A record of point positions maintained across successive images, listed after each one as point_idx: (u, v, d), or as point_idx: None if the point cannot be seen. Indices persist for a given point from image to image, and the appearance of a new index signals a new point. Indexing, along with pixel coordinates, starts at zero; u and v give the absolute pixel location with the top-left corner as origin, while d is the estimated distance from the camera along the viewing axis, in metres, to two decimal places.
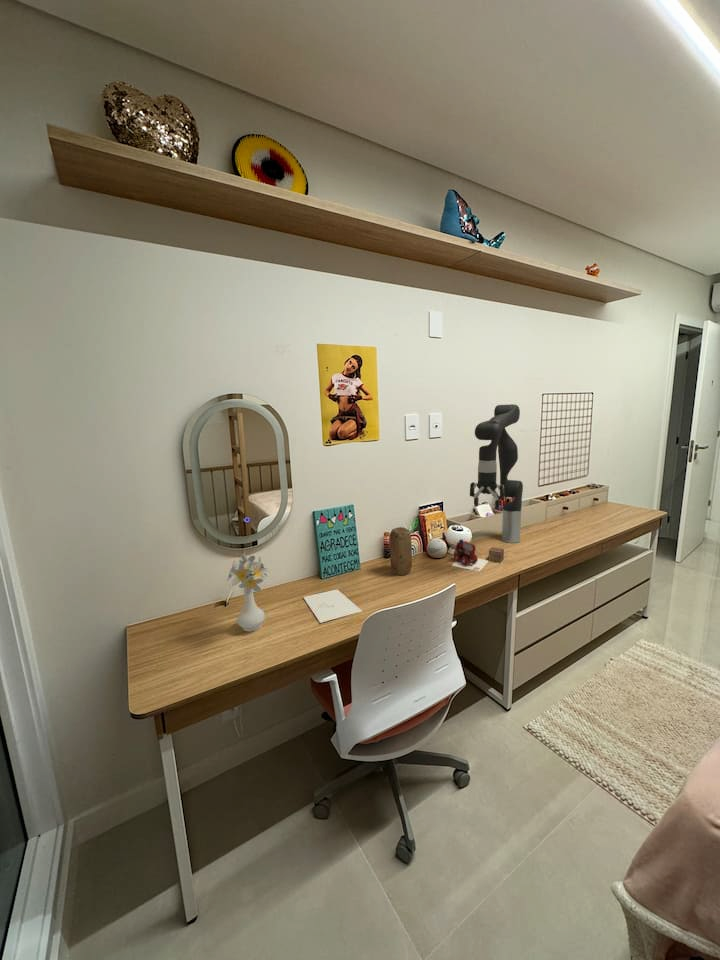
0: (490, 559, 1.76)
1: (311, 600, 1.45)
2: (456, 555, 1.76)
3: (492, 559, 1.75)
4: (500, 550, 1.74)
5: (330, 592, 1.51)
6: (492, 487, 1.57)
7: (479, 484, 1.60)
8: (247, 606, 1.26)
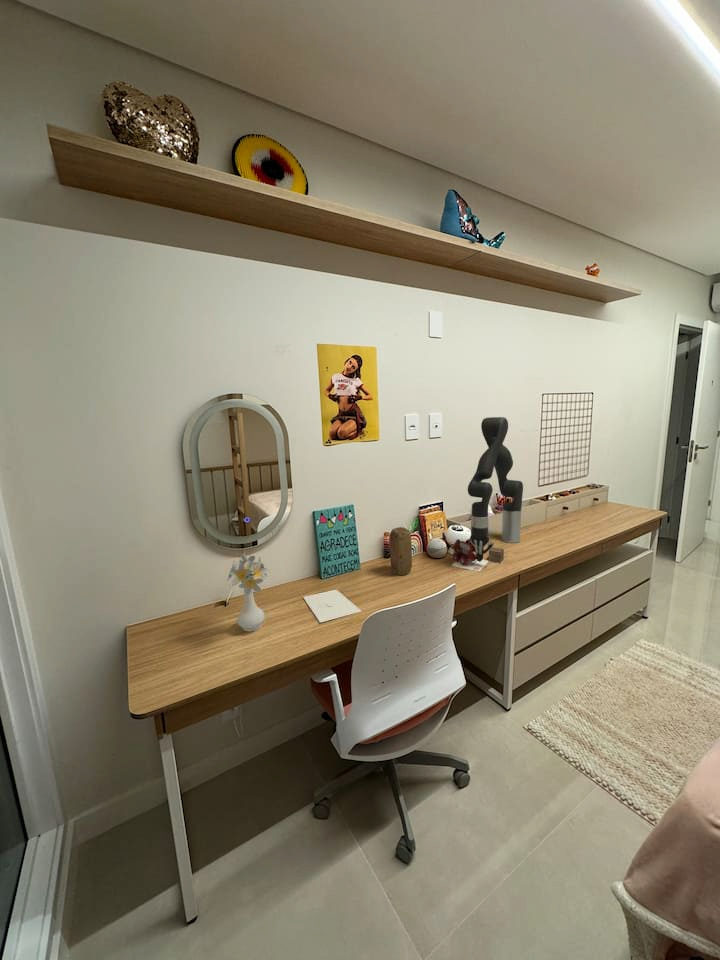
0: (490, 559, 1.76)
1: (311, 600, 1.45)
2: (454, 555, 1.76)
3: (492, 559, 1.75)
4: (500, 550, 1.74)
5: (330, 592, 1.51)
6: (484, 543, 1.67)
7: (471, 537, 1.70)
8: (247, 606, 1.26)
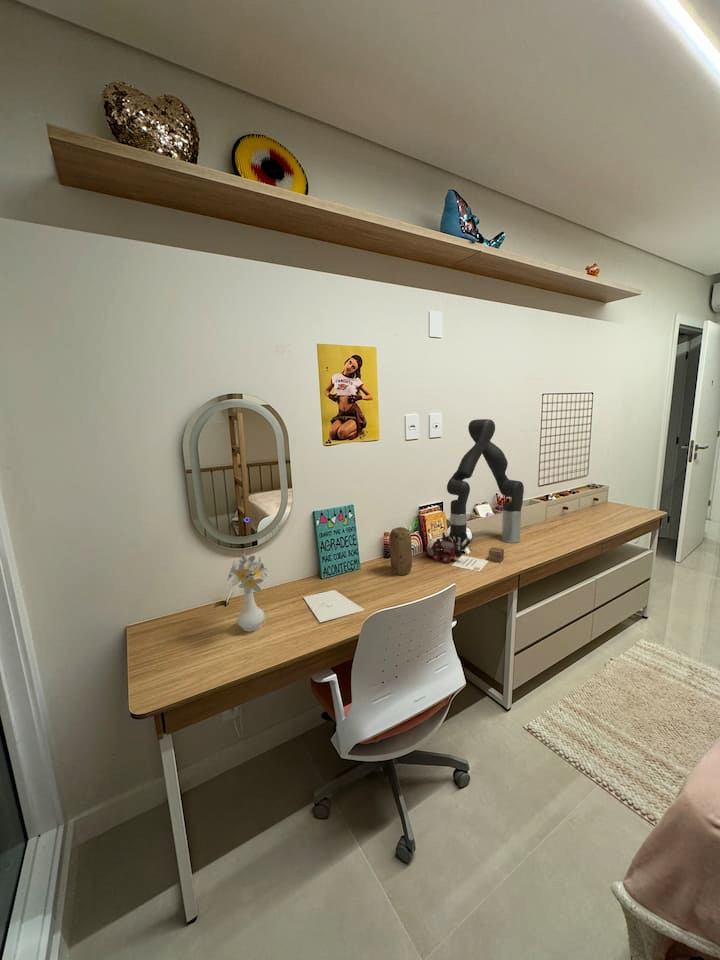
0: (490, 559, 1.76)
1: (311, 600, 1.45)
2: (435, 555, 1.78)
3: (492, 559, 1.75)
4: (500, 550, 1.74)
5: (330, 592, 1.52)
6: (462, 539, 1.73)
7: (450, 534, 1.76)
8: (247, 606, 1.26)
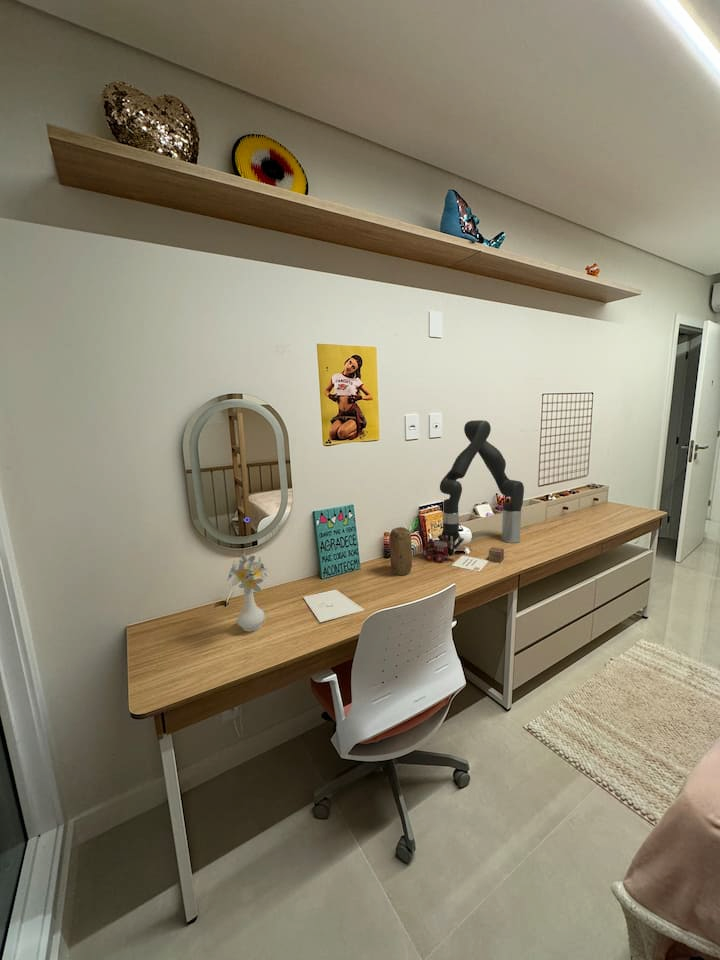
0: (490, 559, 1.76)
1: (311, 600, 1.45)
2: (429, 555, 1.78)
3: (492, 559, 1.75)
4: (500, 550, 1.74)
5: (330, 592, 1.52)
6: (454, 538, 1.76)
7: (443, 532, 1.78)
8: (247, 606, 1.26)
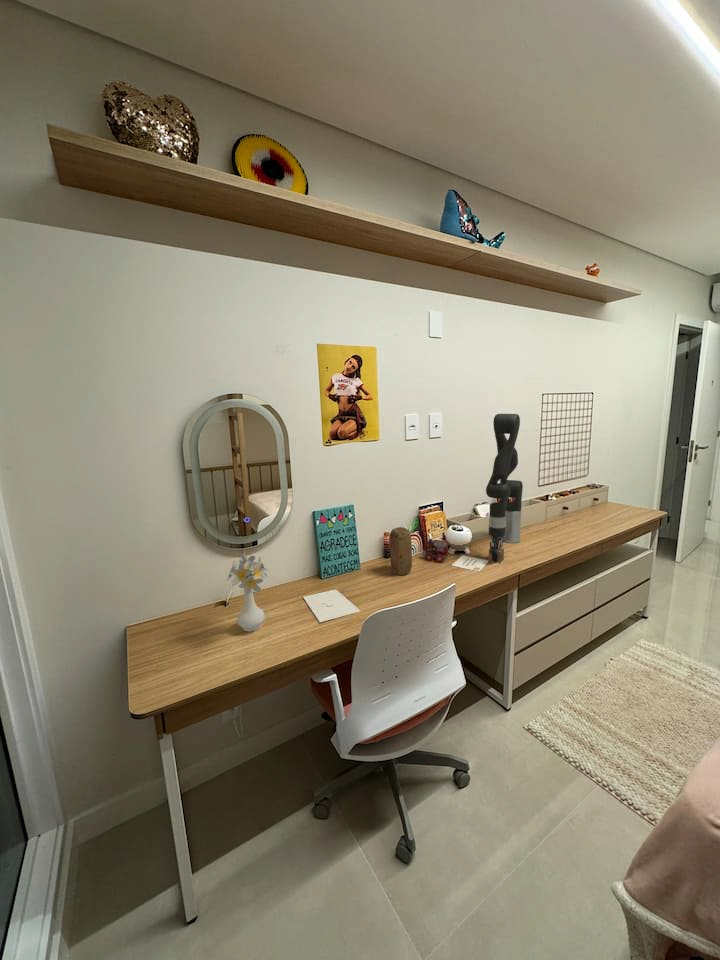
0: (490, 559, 1.76)
1: (311, 599, 1.45)
2: (429, 555, 1.78)
3: None
4: (500, 550, 1.74)
5: (330, 592, 1.52)
6: None
7: None
8: (247, 606, 1.26)
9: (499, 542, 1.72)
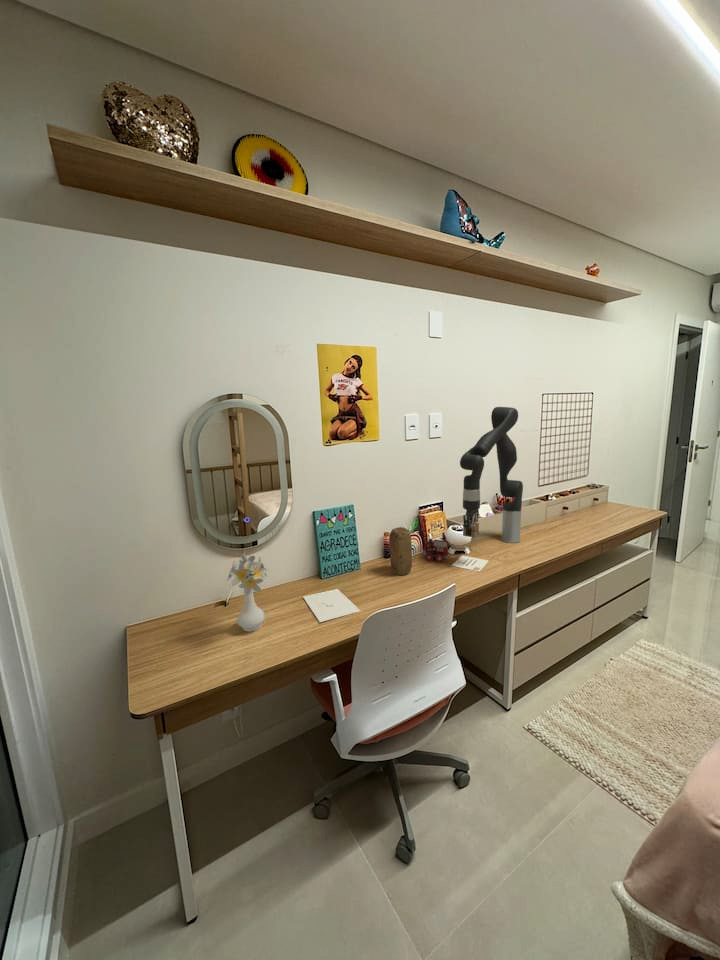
0: (464, 533, 1.70)
1: (311, 599, 1.45)
2: (429, 555, 1.78)
3: None
4: (475, 524, 1.69)
5: (330, 592, 1.52)
6: None
7: None
8: (247, 606, 1.26)
9: (473, 516, 1.67)
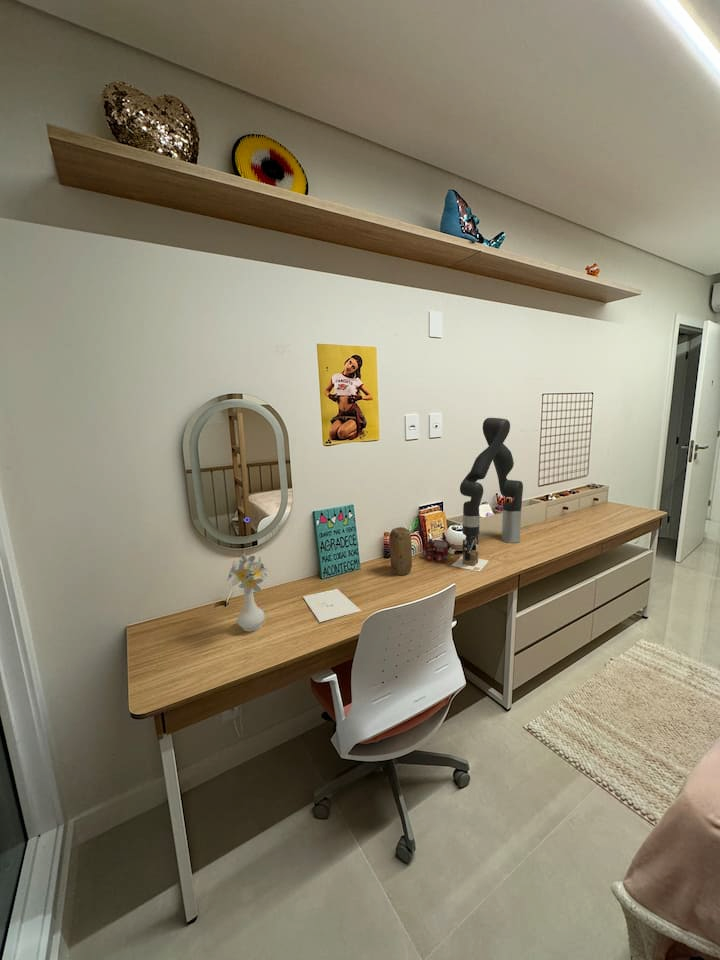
0: (464, 562, 1.73)
1: (311, 599, 1.46)
2: (429, 555, 1.78)
3: (466, 562, 1.72)
4: (474, 553, 1.71)
5: (330, 591, 1.52)
6: None
7: None
8: (247, 606, 1.26)
9: (473, 541, 1.69)
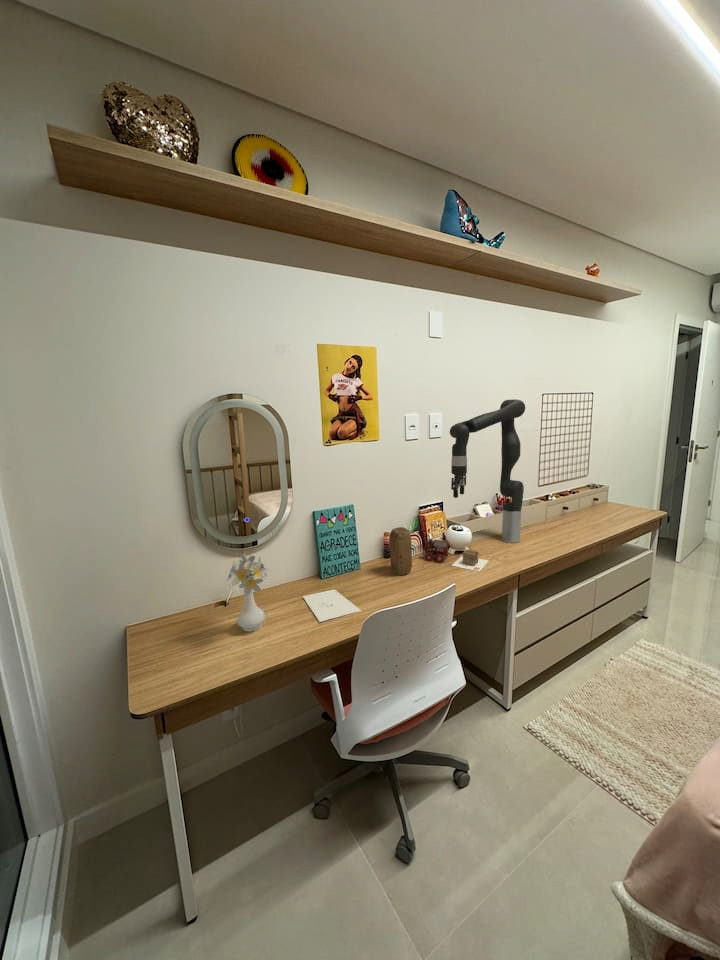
0: (464, 562, 1.73)
1: (311, 599, 1.46)
2: (429, 555, 1.78)
3: (466, 562, 1.72)
4: (474, 553, 1.71)
5: (330, 591, 1.52)
6: None
7: None
8: (247, 606, 1.26)
9: (460, 479, 1.84)
